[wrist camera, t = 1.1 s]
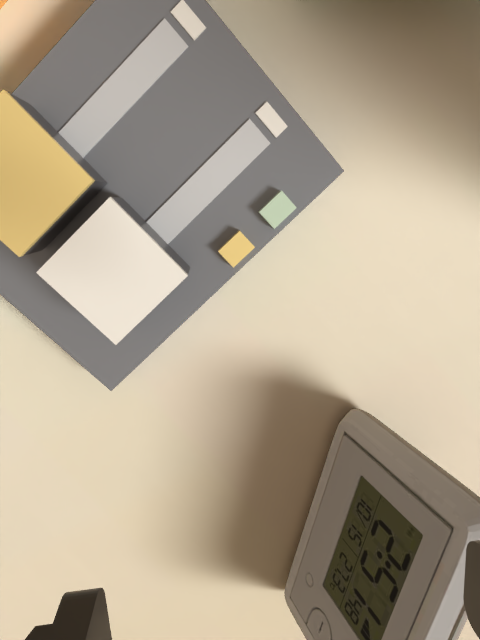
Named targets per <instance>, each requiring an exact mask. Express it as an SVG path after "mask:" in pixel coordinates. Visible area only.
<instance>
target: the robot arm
mask: <svg viewBox="0 0 480 640" xmlns="http://www.w3.org/2000/svg"><path fill="white" fill-rule="evenodd" d="M463 600H464V607H465V611H466V614H467V617H468V620H469V622H470V624H471V626H472V628H473V630H474V631H475V633H476V635H477V636H478V637H479V639H480V540H476V541H470V542H469V543H468V544H467V548H466V561H465V578H464V595H463ZM25 640H112V637H111V630H110V624H109V617H108V611H107V604H106V598H105V593H104V590H103V588H97V589H89V590H81V591H73V592H66V593H65V594H64V595H63V597H62V599H61V602H60V605H59V607H58V610H57V613H56V616H55V619H54V622H53V624H48V625H41V626H35V628H34V629H33V630H32V631H31V632H30V634H29V635H28V636H27V637H26V639H25Z"/></svg>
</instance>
